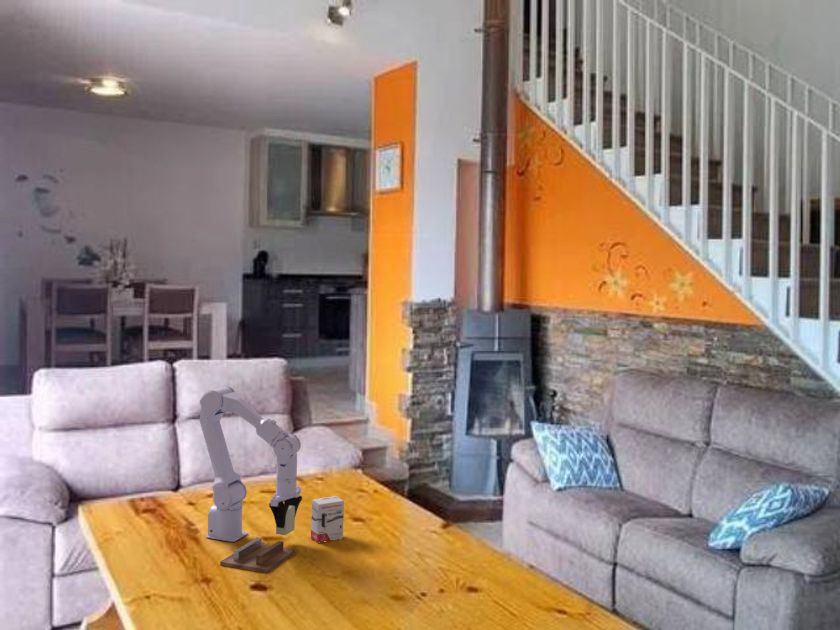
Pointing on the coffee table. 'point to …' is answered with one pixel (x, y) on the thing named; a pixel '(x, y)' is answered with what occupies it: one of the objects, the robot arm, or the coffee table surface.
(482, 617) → the coffee table surface
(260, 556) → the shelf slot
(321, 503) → the ink box
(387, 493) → the coffee table surface
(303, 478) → the coffee table surface
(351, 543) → the coffee table surface
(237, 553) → the grey bar
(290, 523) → the white rectangular block
